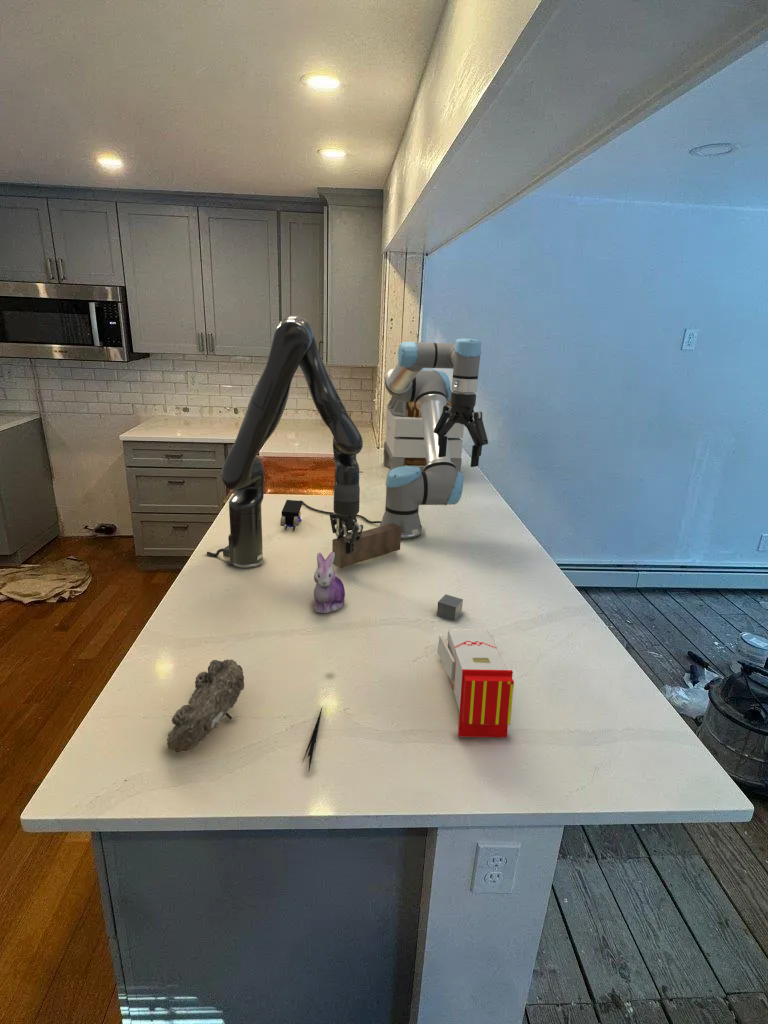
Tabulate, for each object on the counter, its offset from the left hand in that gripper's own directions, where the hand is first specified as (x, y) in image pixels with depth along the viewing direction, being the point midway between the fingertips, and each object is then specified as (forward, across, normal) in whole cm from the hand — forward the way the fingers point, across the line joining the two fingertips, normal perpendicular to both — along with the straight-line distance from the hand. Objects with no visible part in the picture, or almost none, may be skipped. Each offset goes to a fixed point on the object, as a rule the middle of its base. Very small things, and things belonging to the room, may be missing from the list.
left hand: (345, 550), depth 170 cm
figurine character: (+6, -39, +6) cm, 40 cm away
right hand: (-25, +10, +36) cm, 45 cm away
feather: (+6, +51, -44) cm, 67 cm away
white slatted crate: (+6, -64, +93) cm, 113 cm away
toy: (+6, +63, -14) cm, 65 cm away
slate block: (+6, +38, +6) cm, 39 cm away
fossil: (+6, +38, -60) cm, 71 cm away
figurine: (+6, +16, -17) cm, 24 cm away
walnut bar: (+4, 0, +9) cm, 10 cm away
